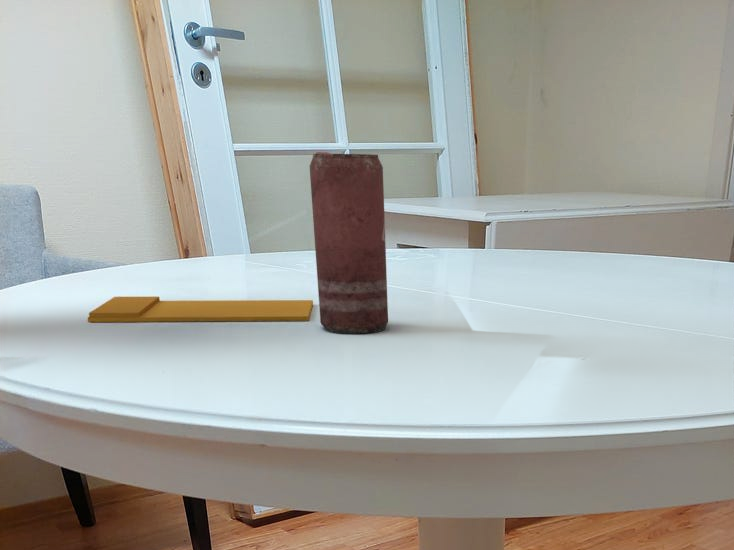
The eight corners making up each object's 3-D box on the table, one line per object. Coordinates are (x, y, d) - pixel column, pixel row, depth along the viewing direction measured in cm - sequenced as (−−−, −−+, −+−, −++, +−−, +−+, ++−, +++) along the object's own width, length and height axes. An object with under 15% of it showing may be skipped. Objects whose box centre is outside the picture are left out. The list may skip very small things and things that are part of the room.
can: (331, 320, 84) (320, 151, 77) (396, 324, 83) (391, 153, 76) (308, 332, 79) (294, 151, 72) (376, 335, 77) (369, 153, 71)
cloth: (87, 322, 81) (86, 312, 81) (113, 304, 90) (112, 296, 90) (308, 320, 84) (307, 311, 83) (313, 304, 92) (312, 296, 92)
